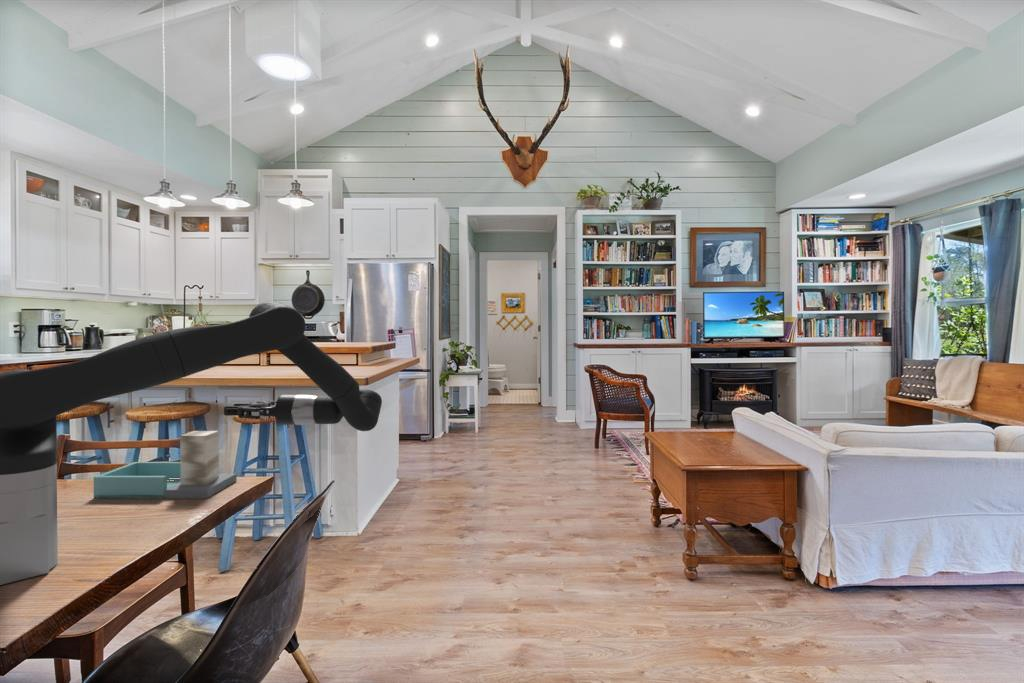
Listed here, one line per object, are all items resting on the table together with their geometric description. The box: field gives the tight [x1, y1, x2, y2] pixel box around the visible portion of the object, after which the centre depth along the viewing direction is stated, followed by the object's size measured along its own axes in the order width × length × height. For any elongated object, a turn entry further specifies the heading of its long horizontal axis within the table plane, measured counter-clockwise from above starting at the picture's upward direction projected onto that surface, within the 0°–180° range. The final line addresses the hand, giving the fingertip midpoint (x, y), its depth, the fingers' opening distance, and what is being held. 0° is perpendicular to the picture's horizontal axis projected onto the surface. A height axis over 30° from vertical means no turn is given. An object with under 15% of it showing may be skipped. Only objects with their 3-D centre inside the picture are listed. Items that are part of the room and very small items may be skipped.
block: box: [179, 430, 220, 485], centre depth 129 cm, size 6×6×12 cm
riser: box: [163, 472, 238, 499], centre depth 129 cm, size 10×14×2 cm
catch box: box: [93, 461, 180, 499], centre depth 128 cm, size 16×14×5 cm
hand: (229, 409), depth 129 cm, fingers open, 4 cm apart
